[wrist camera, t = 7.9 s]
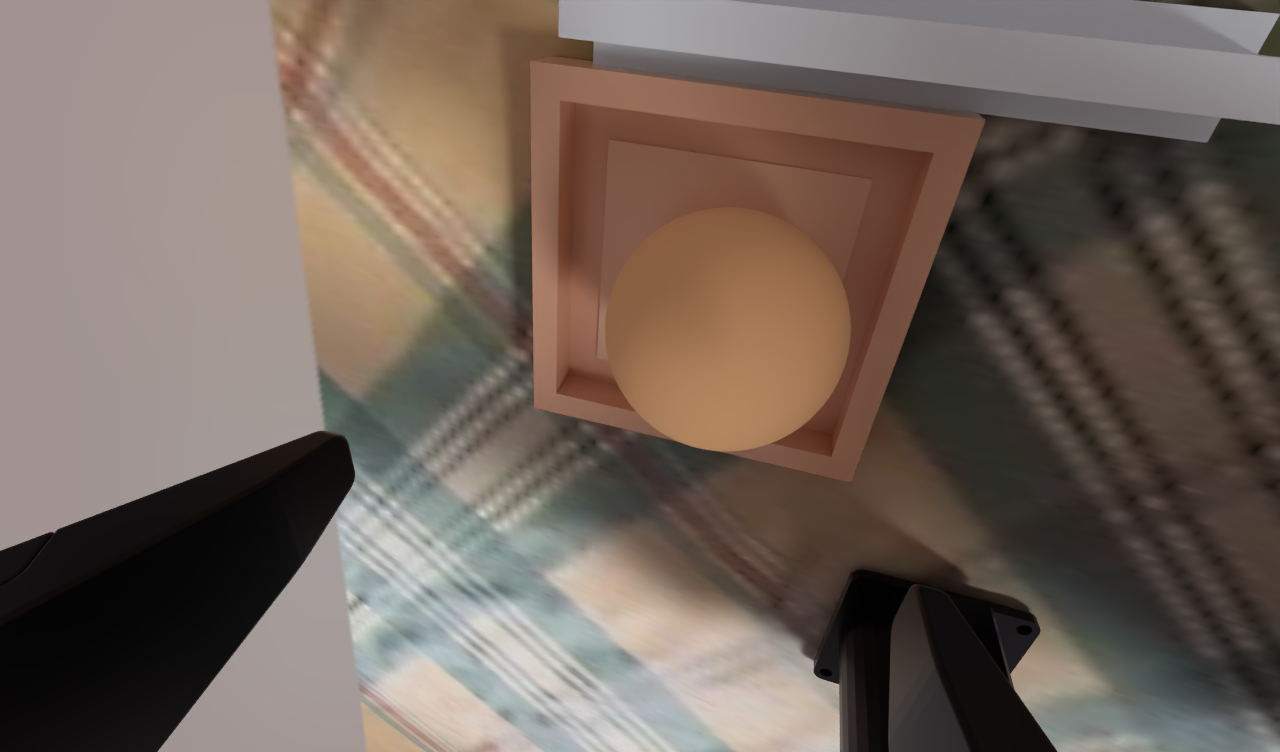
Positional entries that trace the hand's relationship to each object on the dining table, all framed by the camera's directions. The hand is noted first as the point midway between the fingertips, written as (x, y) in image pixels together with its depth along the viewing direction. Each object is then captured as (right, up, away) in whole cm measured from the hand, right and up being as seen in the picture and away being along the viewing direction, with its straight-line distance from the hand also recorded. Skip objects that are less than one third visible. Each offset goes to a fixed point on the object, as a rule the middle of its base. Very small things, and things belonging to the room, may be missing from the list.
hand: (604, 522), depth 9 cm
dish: (+3, +5, +9) cm, 11 cm away
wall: (+6, +10, +5) cm, 13 cm away
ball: (+3, +3, +6) cm, 7 cm away
